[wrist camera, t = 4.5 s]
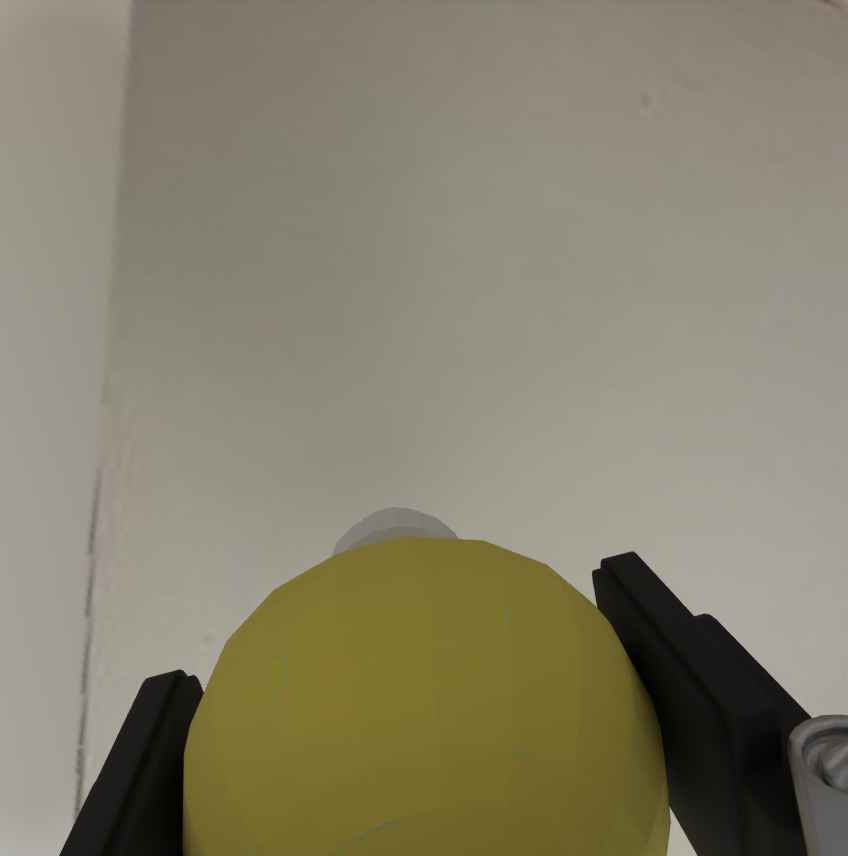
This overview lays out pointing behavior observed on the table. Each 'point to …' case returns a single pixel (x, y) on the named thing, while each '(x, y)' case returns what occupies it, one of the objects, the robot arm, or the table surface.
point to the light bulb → (425, 713)
